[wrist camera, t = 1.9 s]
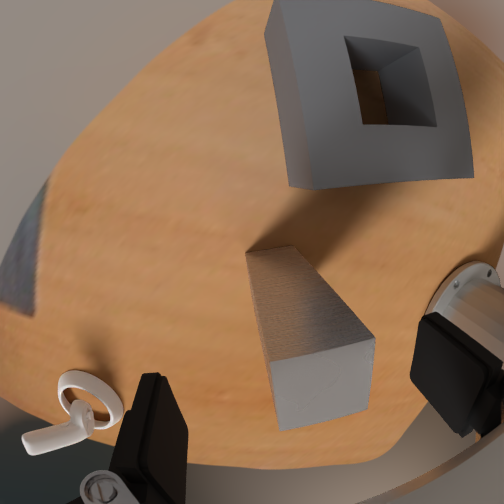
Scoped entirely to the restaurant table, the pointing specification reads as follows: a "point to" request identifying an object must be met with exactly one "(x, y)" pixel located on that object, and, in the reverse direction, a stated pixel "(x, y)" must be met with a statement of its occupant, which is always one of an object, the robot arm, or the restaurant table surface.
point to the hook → (75, 414)
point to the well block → (346, 99)
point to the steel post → (308, 341)
